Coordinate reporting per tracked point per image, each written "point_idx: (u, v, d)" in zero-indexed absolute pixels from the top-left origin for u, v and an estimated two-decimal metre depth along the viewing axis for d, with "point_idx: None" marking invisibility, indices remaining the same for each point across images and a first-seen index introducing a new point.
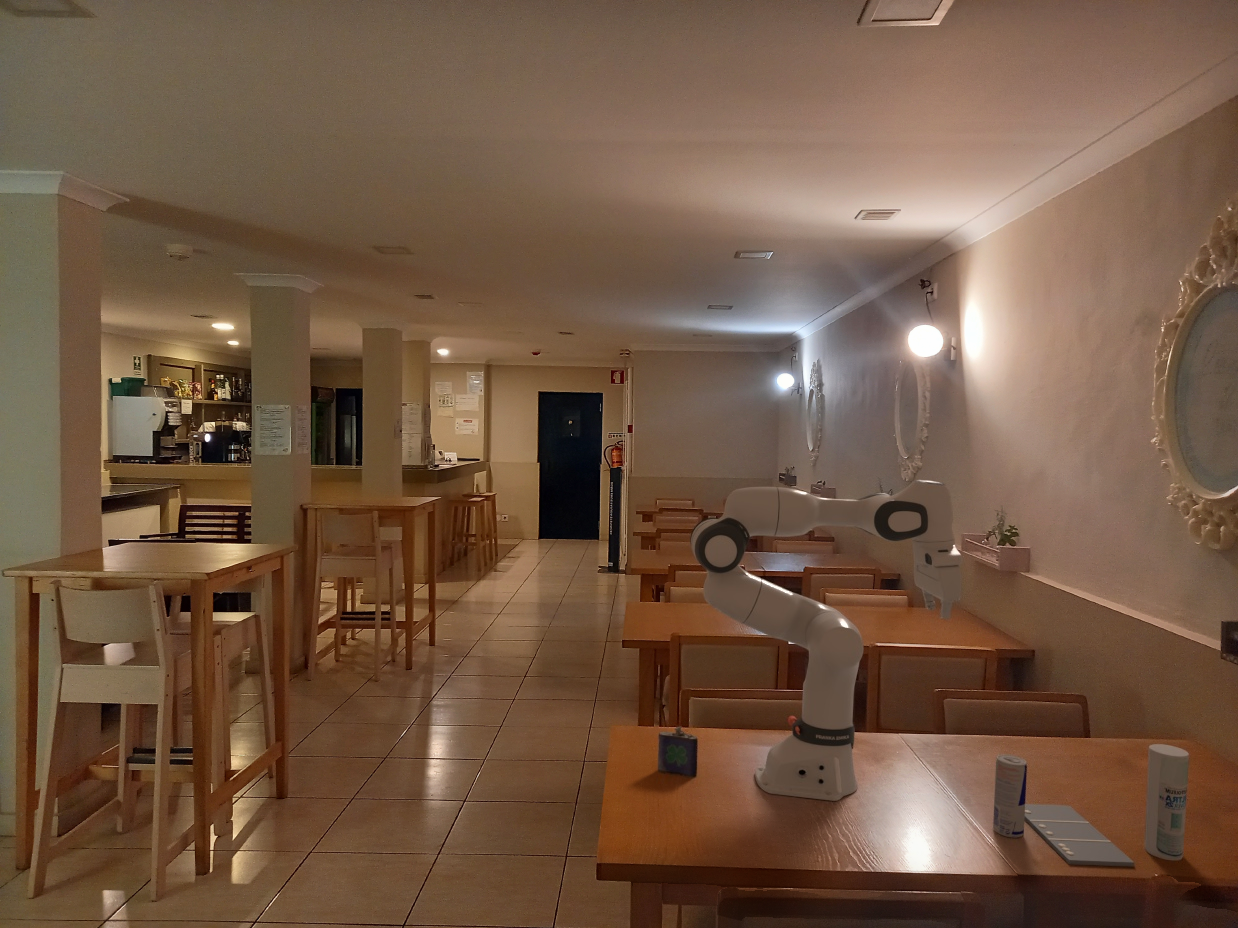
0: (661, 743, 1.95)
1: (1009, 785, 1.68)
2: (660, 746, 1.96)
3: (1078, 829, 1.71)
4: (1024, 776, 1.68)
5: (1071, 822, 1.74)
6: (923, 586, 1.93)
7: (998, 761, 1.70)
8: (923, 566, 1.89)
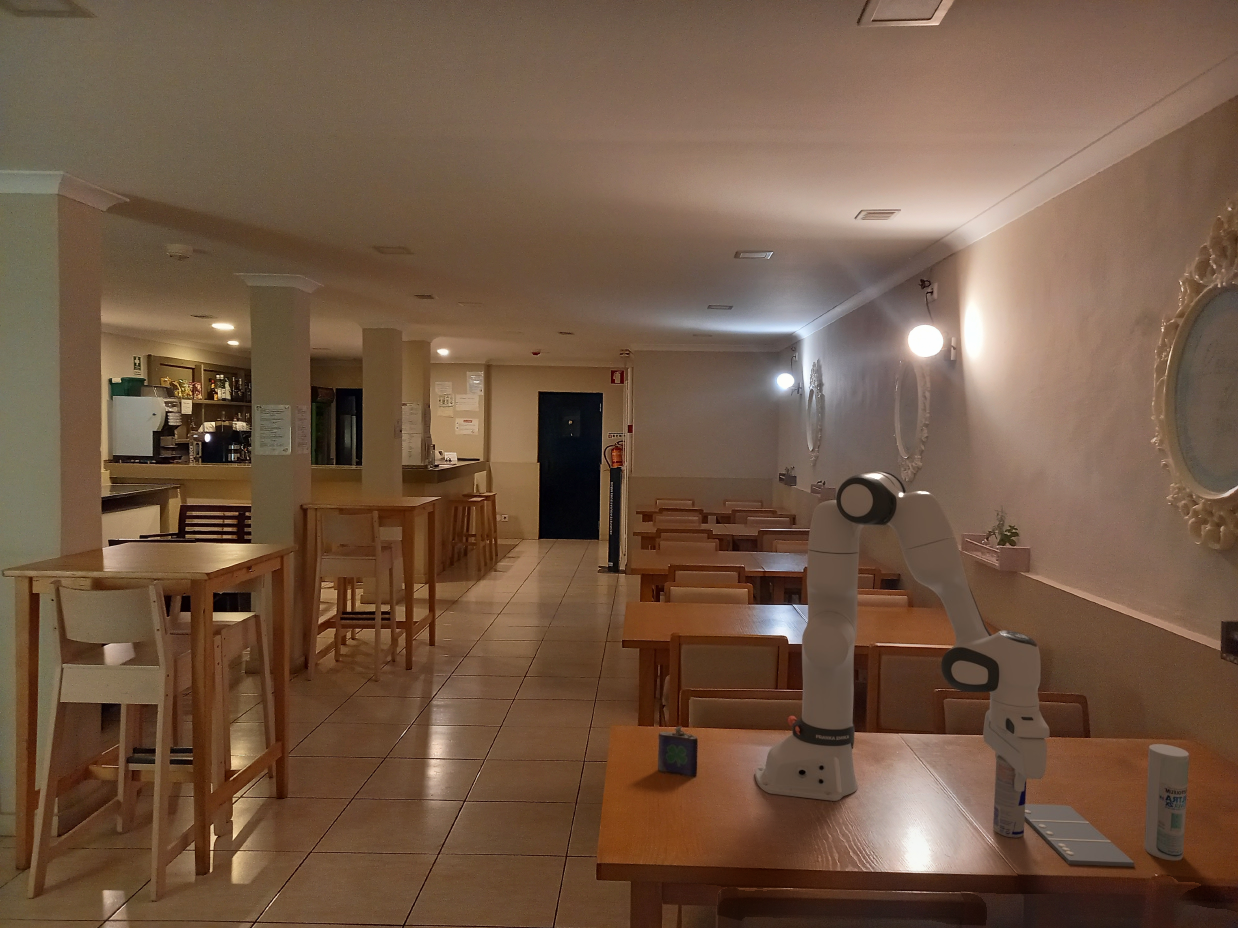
0: (661, 743, 1.95)
1: (1009, 786, 1.68)
2: (660, 746, 1.96)
3: (1078, 829, 1.71)
4: None
5: (1071, 822, 1.74)
6: (996, 748, 1.73)
7: (998, 761, 1.70)
8: (1000, 729, 1.69)
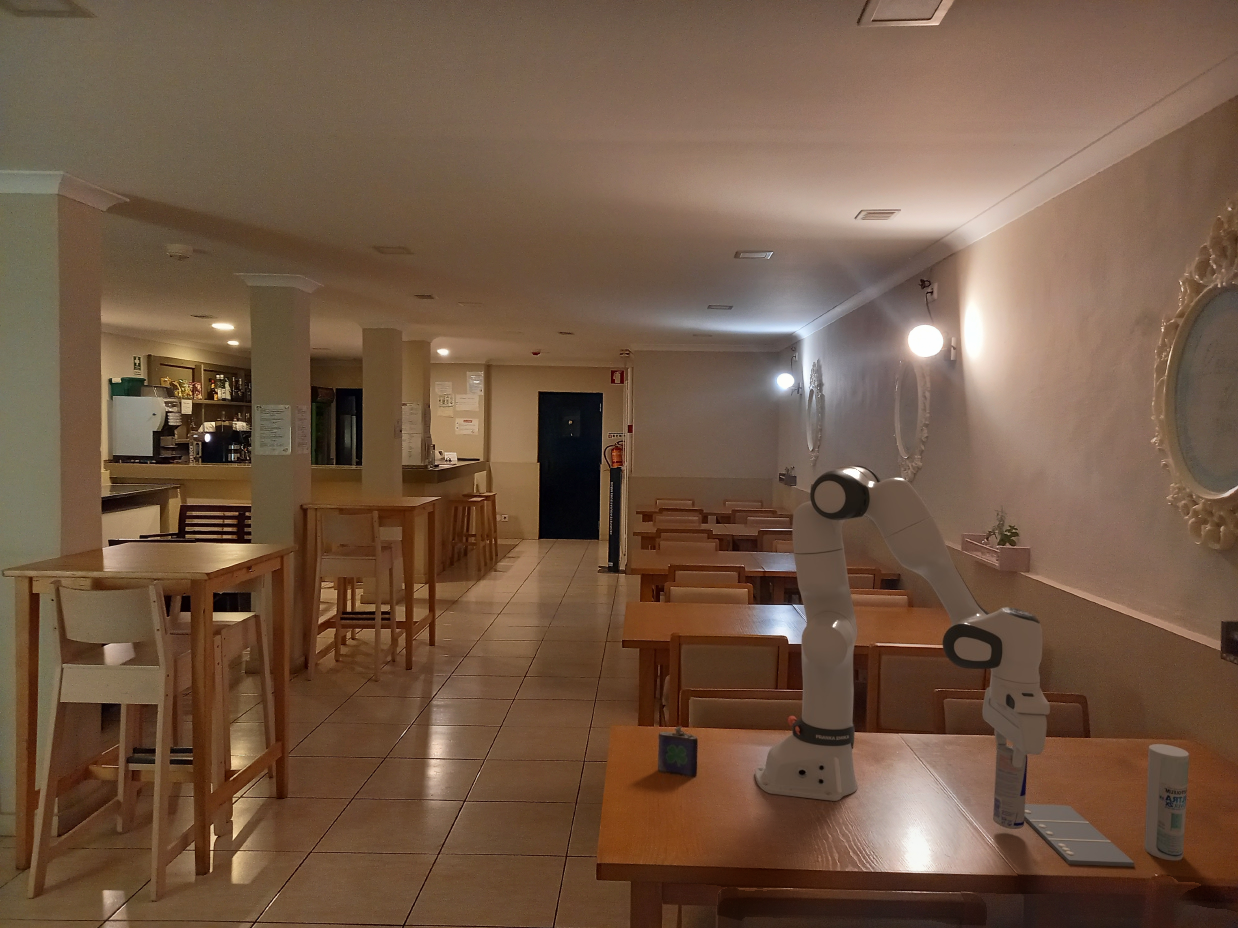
0: (661, 743, 1.95)
1: (1011, 776, 1.67)
2: (660, 746, 1.96)
3: (1078, 829, 1.71)
4: (1025, 766, 1.68)
5: (1071, 822, 1.74)
6: (995, 724, 1.73)
7: (999, 752, 1.70)
8: (1000, 705, 1.69)
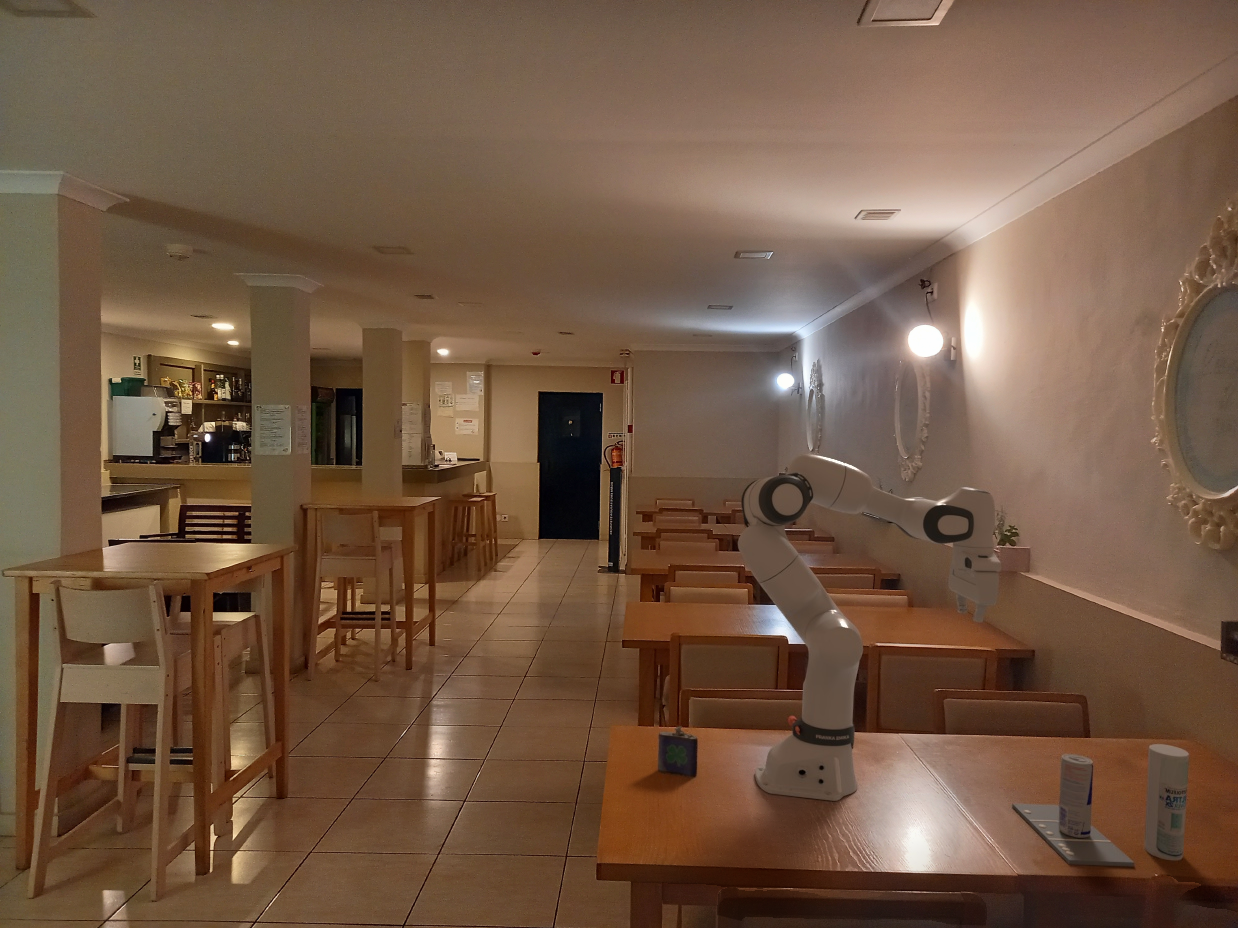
0: (661, 743, 1.95)
1: (1077, 785, 1.66)
2: (660, 746, 1.96)
3: None
4: (1091, 775, 1.67)
5: None
6: (958, 589, 2.01)
7: (1064, 761, 1.68)
8: (961, 570, 1.96)
